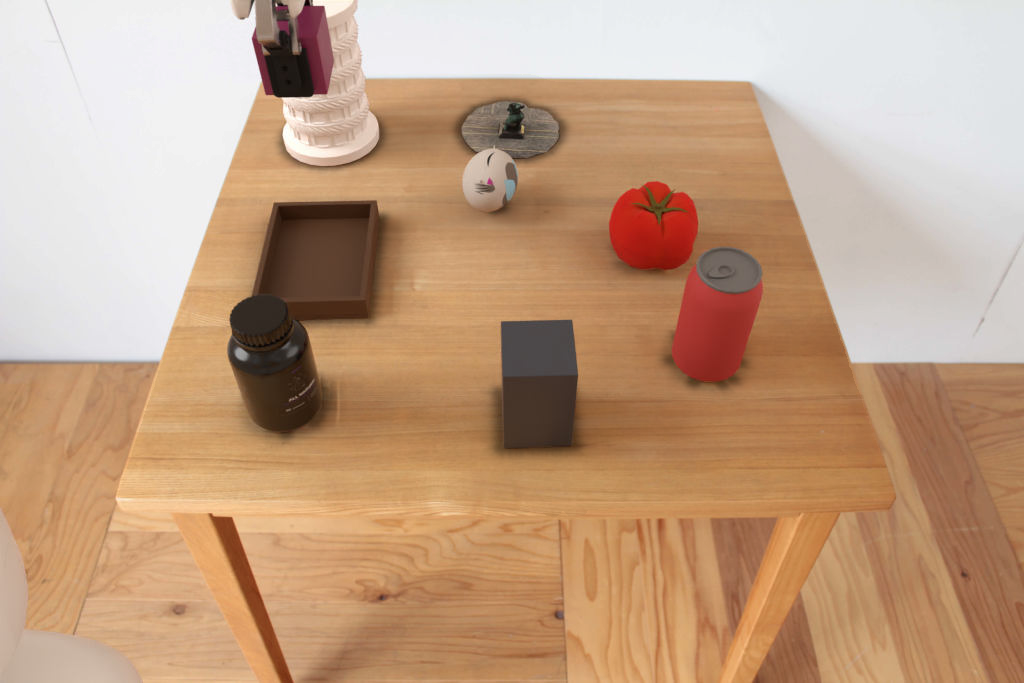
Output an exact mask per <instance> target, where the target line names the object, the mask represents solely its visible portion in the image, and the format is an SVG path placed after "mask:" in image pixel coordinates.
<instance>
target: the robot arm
mask: <svg viewBox="0 0 1024 683" xmlns="http://www.w3.org/2000/svg"><path fill="white" fill-rule="evenodd" d="M229 1H230V6H231V10H232V13H233V15H234V16H235V18H237V19H238V20H239V21H243V20H246V19H248V18H250V15H251V12H252V9H253V6H254V17H255V27H256V34H257V40H258V42H259V43H260V44H261V45H262V51H263V54H264V57H265V62H266V66H267V70H268V74H269V78H270V82H271V87H272V91H273V94H274V95H273V96H274V97H275V98H280V99H282V98H292V97H312V96H313V94H314V86H313V80H312V75H311V70H310V65H309V60H308V55H307V50H306V48H301V40H300V33H299V25H298V18H297V16H298V15H299V14H300V13H301V11H302V9H303V6H313V0H229ZM276 3H277V6H288V10H276ZM277 21H288V27H289V34H290V36H289V35H288V33H287V32H286V31H285V30H280V28H279V27H278V25H277ZM26 573H27V572H26V568H25V563H24V559H23V556H22V553H21V550H20V548H19V546H18V543H17V540H16V539H15V536H14V534H13V532H12V529H11V526H10V524H9V522H8V520H7V517H6V515H5V513H4V512H3V509H2V507H1V506H0V683H144V682H143V679H142V676H141V674H140V672H139V671H138V669H137V668H136V666H135V664H134V663H133V662H132V660H130V659H129V658H128V656H126V655H125V654H124V653H123V652H122V651H120V650H118V648H115V647H114V646H112V645H110V644H107V643H105V642H102V641H99V640H96V639H93V638H89V637H84V636H81V635H77V634H76V635H75V634H70V633H64V632H58V631H50V630H41V629H39V630H38V629H30V628H29V629H28V628H26V622H27V615H28V614H27V613H28V606H29V598H30V596H29V584H28V578H27V575H26Z"/></svg>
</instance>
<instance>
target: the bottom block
mask: <svg viewBox="0 0 1024 683" xmlns="http://www.w3.org/2000/svg"><path fill="white" fill-rule="evenodd" d="M500 358H501V360H500V361H501V362H500V363H501V364H500V365H501V366H500V367H501V369H500V370H501V410H502V411H501V412H502V415H501V416H502V437H503V438H502V443H503V444H502V445H503V448H504V449H514V448H515V449H517V448H518V449H519V448H520V449H521V448H555V447H557V448H558V447H572V445H573V436H574V427H575V426H574V425H575V415H576V404H577V395H578V394H577V393H578V382H579V368H578V358H577V349H576V340H575V331H574V322H573V319H540V320H538V319H537V320H535V319H534V320H532V319H531V320H501V321H500Z"/></svg>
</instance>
